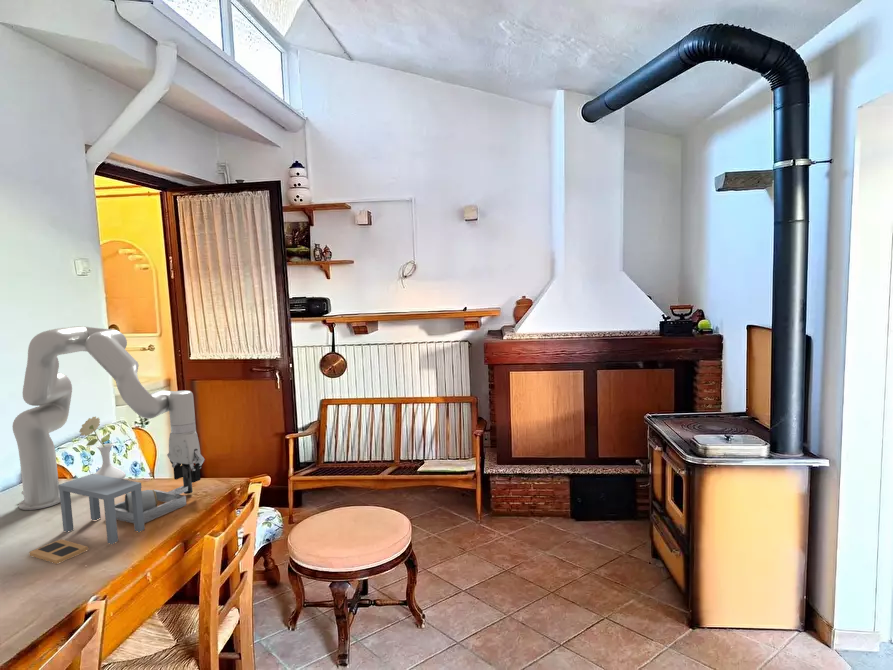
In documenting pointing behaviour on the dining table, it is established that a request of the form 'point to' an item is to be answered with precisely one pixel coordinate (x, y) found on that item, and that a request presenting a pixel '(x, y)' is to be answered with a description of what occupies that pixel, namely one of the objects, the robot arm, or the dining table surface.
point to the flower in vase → (101, 449)
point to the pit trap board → (58, 551)
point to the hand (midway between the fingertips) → (187, 479)
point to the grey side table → (106, 491)
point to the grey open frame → (171, 499)
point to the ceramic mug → (147, 500)
